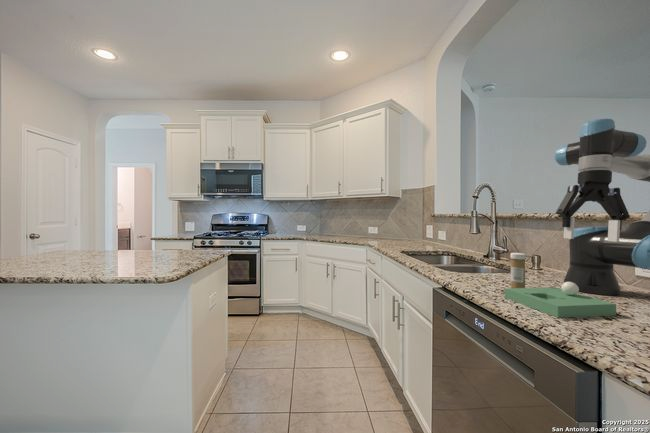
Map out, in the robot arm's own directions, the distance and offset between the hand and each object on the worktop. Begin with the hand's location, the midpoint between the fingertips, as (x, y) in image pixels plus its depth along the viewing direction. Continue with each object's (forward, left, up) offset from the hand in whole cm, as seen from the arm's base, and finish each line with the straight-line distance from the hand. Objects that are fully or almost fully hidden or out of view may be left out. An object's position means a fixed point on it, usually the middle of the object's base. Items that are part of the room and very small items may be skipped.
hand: (590, 240), depth 84 cm
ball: (+7, 0, -15) cm, 16 cm away
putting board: (+12, 0, -20) cm, 23 cm away
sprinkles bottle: (+9, -17, -20) cm, 28 cm away
